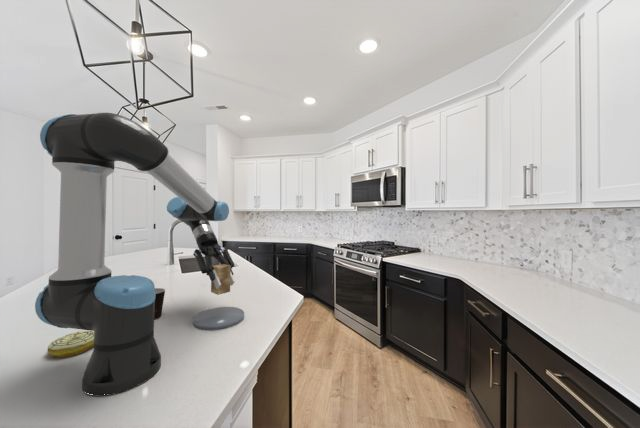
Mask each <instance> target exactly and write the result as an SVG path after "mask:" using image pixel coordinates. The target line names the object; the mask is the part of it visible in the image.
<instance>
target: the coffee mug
mask: <svg viewBox="0 0 640 428" xmlns="http://www.w3.org/2000/svg"><path fill="white" fill-rule="evenodd" d="M155 294H156V296H155V297H156V298H155V316H154V321H155V320H157V319H160V318H162V314H163V313H162V312H163V307H164V301H165V300H164V299H165V294H166V288H162V287H160V288H159V287H157V288H156V287H155Z"/></svg>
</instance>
